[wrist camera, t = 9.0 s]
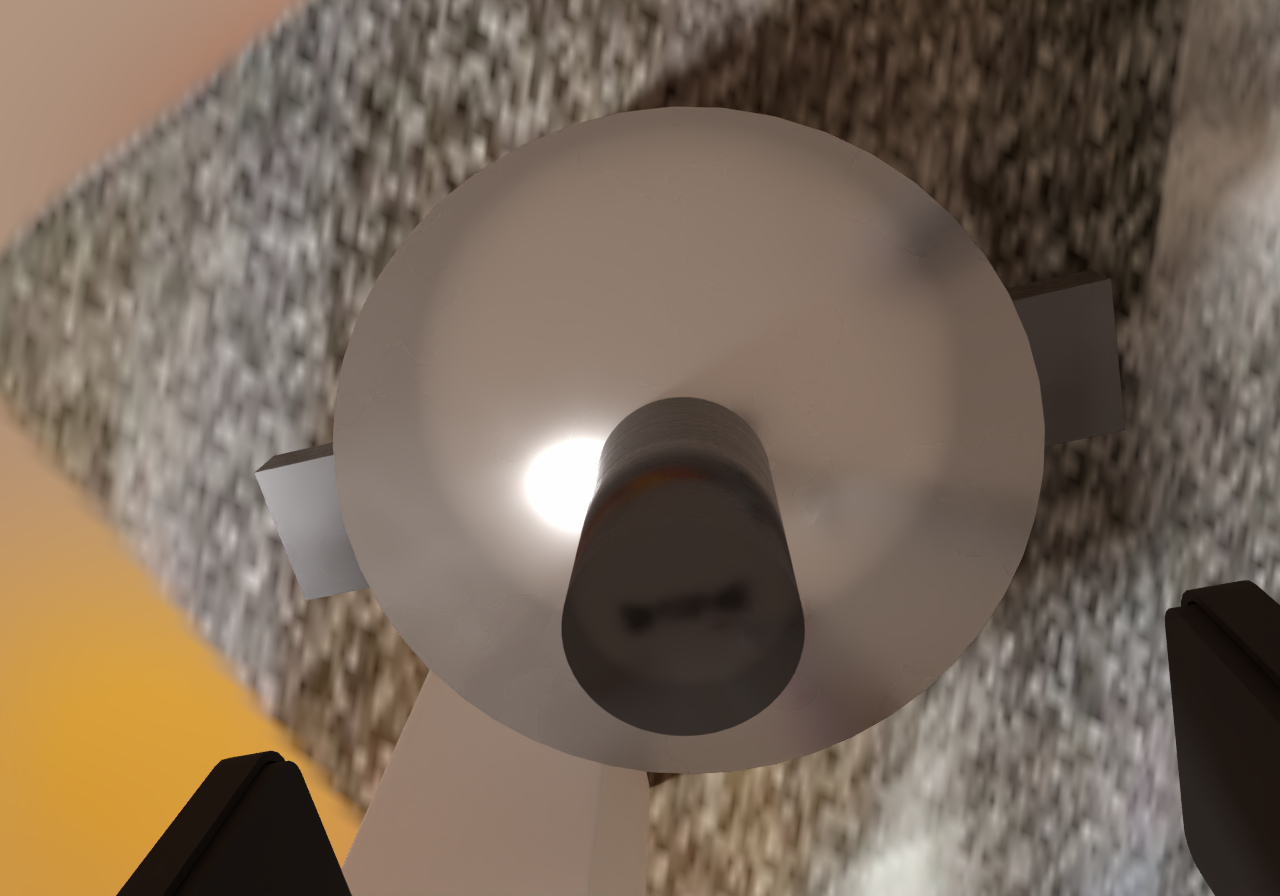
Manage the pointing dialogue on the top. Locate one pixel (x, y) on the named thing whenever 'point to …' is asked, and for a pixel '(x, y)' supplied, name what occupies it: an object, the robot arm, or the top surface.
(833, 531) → the lid
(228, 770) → the robot arm
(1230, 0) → the top surface
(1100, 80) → the top surface
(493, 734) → the milk
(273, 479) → the pot
